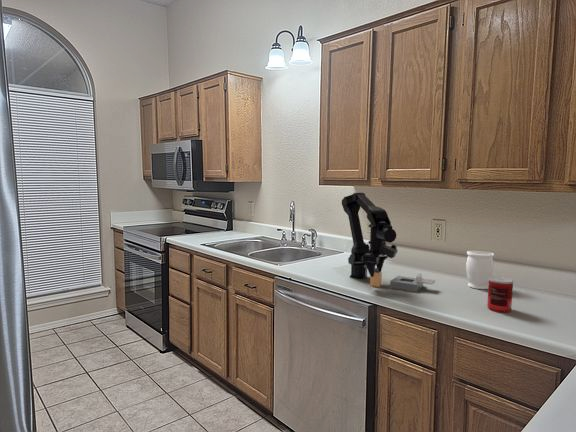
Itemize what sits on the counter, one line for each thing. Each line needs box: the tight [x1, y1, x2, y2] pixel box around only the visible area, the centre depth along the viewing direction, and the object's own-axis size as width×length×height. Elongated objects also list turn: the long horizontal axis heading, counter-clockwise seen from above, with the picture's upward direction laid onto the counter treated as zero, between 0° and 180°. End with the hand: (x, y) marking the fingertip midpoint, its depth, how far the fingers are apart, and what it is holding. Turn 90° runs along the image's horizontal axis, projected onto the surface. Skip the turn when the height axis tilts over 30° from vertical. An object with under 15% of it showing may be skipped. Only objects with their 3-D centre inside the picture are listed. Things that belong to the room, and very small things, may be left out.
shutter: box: [415, 273, 436, 286], centre depth 168 cm, size 6×6×3 cm
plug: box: [369, 267, 383, 288], centre depth 174 cm, size 4×3×8 cm
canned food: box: [486, 276, 514, 314], centre depth 144 cm, size 8×8×11 cm
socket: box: [389, 275, 424, 293], centre depth 172 cm, size 11×11×3 cm
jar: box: [465, 250, 495, 290], centre depth 173 cm, size 11×10×15 cm
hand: (375, 274), depth 174 cm, fingers open, 9 cm apart
